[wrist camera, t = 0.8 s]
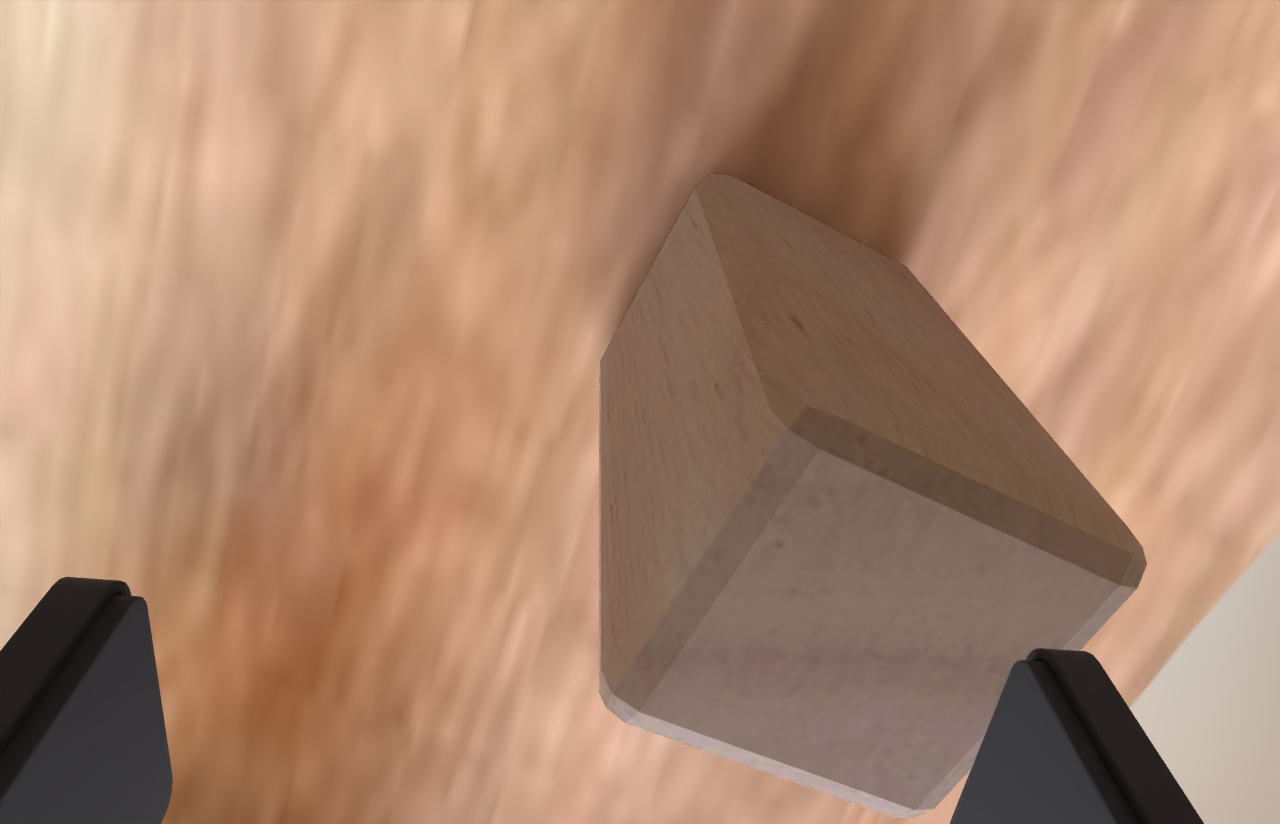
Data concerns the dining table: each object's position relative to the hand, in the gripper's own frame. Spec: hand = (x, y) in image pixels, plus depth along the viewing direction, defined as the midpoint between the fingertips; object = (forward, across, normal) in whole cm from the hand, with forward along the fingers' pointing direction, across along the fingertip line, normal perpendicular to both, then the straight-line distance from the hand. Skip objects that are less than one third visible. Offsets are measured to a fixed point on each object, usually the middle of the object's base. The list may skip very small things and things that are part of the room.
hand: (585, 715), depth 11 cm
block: (+29, -7, +7) cm, 31 cm away
